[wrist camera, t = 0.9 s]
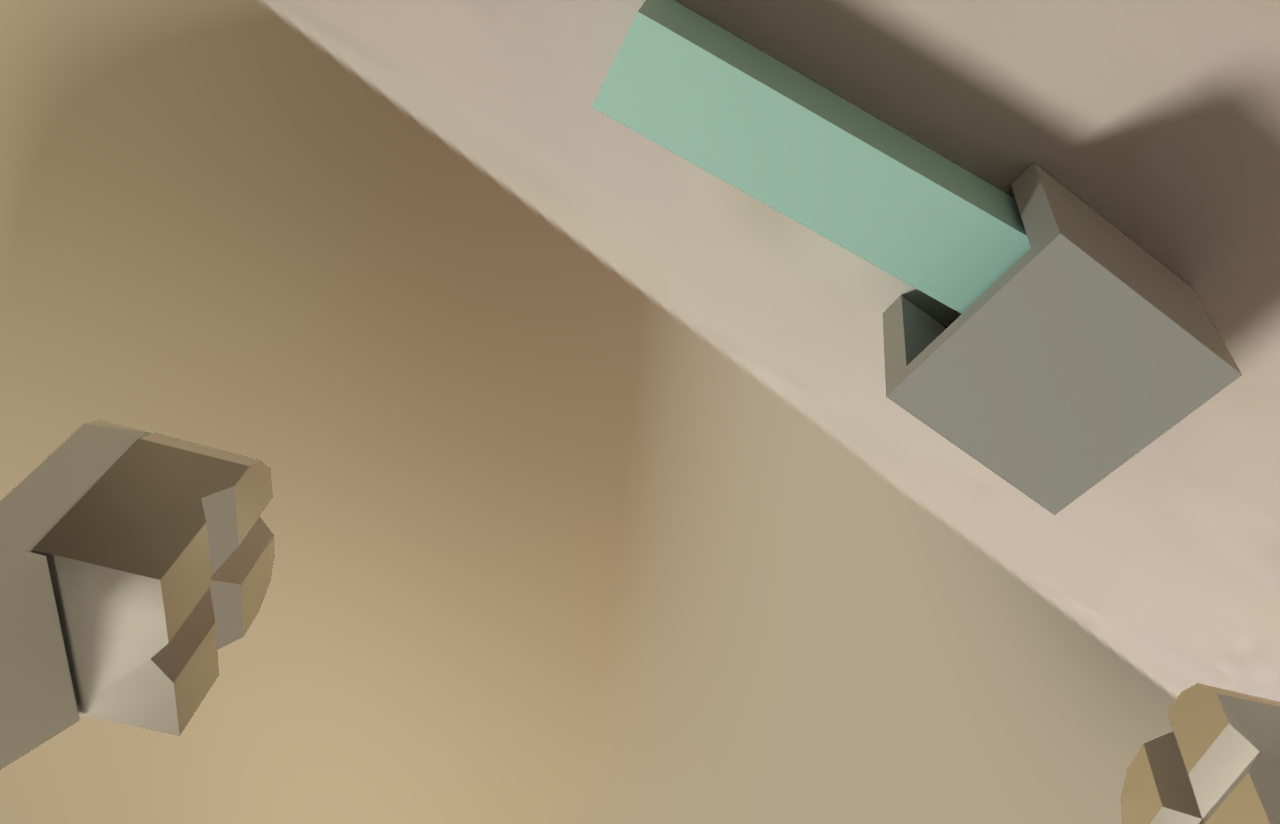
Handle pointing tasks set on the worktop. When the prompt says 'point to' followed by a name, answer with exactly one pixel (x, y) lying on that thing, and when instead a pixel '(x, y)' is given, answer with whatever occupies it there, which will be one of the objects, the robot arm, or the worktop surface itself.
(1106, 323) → the tunnel
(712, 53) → the bar
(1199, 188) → the worktop surface
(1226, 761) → the robot arm
